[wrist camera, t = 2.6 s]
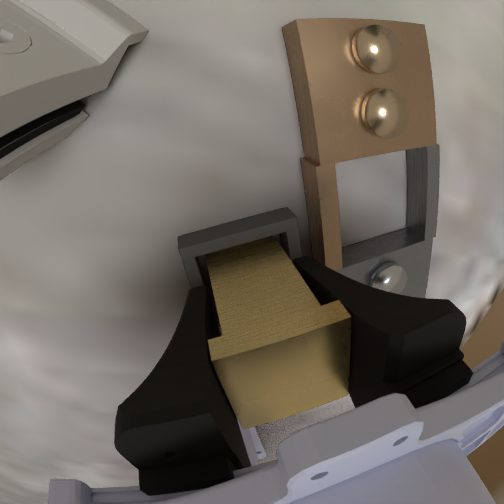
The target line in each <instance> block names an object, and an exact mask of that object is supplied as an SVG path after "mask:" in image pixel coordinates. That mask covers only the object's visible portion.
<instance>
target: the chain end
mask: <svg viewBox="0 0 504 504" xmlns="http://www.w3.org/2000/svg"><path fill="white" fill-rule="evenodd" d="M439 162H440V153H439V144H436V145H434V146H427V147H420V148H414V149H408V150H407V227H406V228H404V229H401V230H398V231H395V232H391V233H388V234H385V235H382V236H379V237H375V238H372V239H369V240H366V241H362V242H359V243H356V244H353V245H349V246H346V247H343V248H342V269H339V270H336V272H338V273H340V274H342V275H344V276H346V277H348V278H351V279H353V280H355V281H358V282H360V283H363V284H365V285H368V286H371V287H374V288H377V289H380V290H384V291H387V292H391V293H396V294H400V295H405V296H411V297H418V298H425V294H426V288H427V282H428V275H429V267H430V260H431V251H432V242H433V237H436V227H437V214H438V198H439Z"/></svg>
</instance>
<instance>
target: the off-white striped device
mask: <svg viewBox="0 0 504 504" xmlns="http://www.w3.org/2000/svg"><path fill="white" fill-rule="evenodd" d="M148 31H149V30H148V29H147V28H145V27H144V26H142V25H141V24H140V23H138V22H137V21H136V20H134V19H133V18H131V17H130V16H129V15H127V14H126V13H124V12H123V11H121V10H120V9H119V8H117V7H116V6H114V5H113V4H111V3H110V2H108V1H107V0H0V181H1V180H2V179H3V178H5V177H6V176H8V175H9V174H10V173H12V172H13V171H15V170H16V169H17V168H19V167H20V166H22V165H23V164H25V163H26V162H28V161H29V160H31V159H32V158H34V157H35V156H37V155H38V154H40V153H41V152H43V151H44V150H46V149H48V148H49V147H51V146H52V145H54V144H56V143H57V142H59V141H61V140H62V139H64V138H66V137H67V136H69V135H70V134H71V133H72V132H73V131H74V130H75V129H76V128H77V127H78V126H79V125H80V124H81V123H82V122H83V121H84V120H85V119H86V118H87V117H88V115H87V114H86V113H85V112H84V111H82V109H83V108H84V106H85V105H84V104H83V103H81V102H80V101H79V100H81V99H84V98H86V97H89V96H91V95H92V94H94V93H97V92H100V91H102V90H105V89H107V87H108V85H109V83H110V80H111V78H112V76H113V74H114V72H115V70H116V68H117V66H118V64H119V62H120V60H121V58H122V57H123V55H124V53H125V51H126V49H127V47H128V46H129V45H131V44H135V43H138V42H141V41H142V40H143V39H144V37H145V36H146V34H147V33H148Z"/></svg>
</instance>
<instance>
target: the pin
mask: <svg viewBox="0 0 504 504" xmlns="http://www.w3.org/2000/svg"><path fill="white" fill-rule="evenodd" d="M205 257H206V261H207V266H208V271H209V276H210V280H211V285H212V289H213V294H214V299H215V303H216V307H217V312H218V316H219V321H220V325H221V329H222V334H223V336H220V337H217V338H213V339H209V340H208V344H209V350H210V355H211V360H212V363H213V365H214V368H215V370H216V372H217V375H218V377H219V379H220V382H221V384H222V386H223V388H224V391H225V393H226V395H227V397H228V400H229V402H230V404H231V406H232V408H233V410H234V413H235V415H236V417H237V419H238V421H239V423H240V425H241V428H242V430H244V429H248V428H252V427H255V426H259V425H262V424H266V423H269V422H273V421H276V420H279V419H282V418H285V417H289V416H292V415H295V414H298V413H301V412H304V411H307V410H309V409H312V408H315V407H318V406H321V405H323V404H326V403H329V402H331V401H334V400H337V399H339V398H342V397H344V396H347V395H348V391H349V374H350V351H351V316H350V314H349V313H348V312H347V310H346V309H345V307H344V306H343V305H342V303H341V302H340V301H339V300H337V301H334V302H331V303H328V304H325V305H322V306H321V305H320V304H319V302H318V301H317V299H316V298H315V296H314V295H313V293H312V292H311V290H310V289H309V287H308V286H307V284H306V283H305V281H304V280H303V278H302V277H301V275H300V274H299V272H298V271H297V269H296V268H295V266H294V265H293V263H292V262H291V260H290V259H289V257H288V256H287V254H286V253H285V251H284V250H283V248H282V247H281V245H280V244H279V242H278V241H277V239H276V238H275V236H274V235H272V236H269V237H265V238H261V239H258V240H254V241H250V242H247V243H243V244H240V245H236V246H232V247H229V248H225V249H222V250H218V251H215V252H211V253H207V254H205Z"/></svg>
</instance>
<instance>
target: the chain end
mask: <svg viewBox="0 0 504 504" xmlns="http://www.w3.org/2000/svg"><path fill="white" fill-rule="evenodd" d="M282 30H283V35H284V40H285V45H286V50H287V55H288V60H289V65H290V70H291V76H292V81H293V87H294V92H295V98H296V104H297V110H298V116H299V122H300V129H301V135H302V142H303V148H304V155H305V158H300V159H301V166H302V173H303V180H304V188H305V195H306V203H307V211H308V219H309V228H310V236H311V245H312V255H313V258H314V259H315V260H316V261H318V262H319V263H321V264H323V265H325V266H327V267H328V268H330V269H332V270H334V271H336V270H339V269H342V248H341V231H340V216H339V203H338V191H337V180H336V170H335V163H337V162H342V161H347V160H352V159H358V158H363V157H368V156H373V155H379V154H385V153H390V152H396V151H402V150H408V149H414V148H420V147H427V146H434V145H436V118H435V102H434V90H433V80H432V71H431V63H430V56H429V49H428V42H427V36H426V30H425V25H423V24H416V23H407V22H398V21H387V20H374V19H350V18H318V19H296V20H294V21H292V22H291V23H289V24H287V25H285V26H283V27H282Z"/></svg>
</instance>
